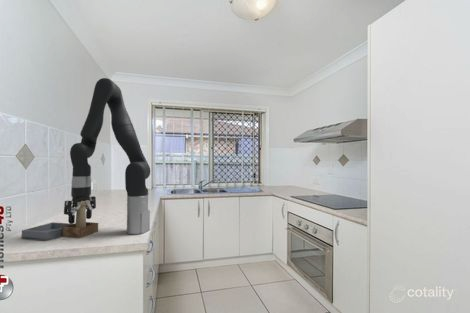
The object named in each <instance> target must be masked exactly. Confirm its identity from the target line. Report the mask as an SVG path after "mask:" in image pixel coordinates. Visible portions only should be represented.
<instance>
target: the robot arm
mask: <svg viewBox="0 0 470 313" xmlns="http://www.w3.org/2000/svg"><path fill="white" fill-rule="evenodd" d="M94 85H95V86H94V89H93V94H92V98H91V102H90V106H89V110H88V114H87V117H86V119H85V121H84V124H83V126H82V128H81V130H80V137H81V139H80V142H76V143H74V144H72V145H71V147H70V150H69V156H70V161H71V166H72V179H71V193H70V194H71V198H72V199H71V200H65V201H64V207H63V214H64V215H67V216H68V220H67V222H68V223H70V224H75V223H76V215H75V214H76V212H77V210H78V209H79V208H80V206H81V205H77V202H83V201H88V200H89V203H88V204H87V205H86V207H85V209H86V220H89V219H92V216H93V215H92V213H93V212H92V211H93V210H94V209H96V208H97V201H96V199H97V198H96V196H94V195H93V196H91V194H92V166H91V164H90V163H89V161H88V158H91V157H92V156H93V154H94V153H95V150H96V147H97V140H98V137H99V134H100V133H101V130H102V128H103V125H104V114H105V109H106V105H107V107H108V108H109V112H110V118H111V119H110V124H111V130H112V132H113V136H114V138H115V140H116V141H117V143H118V144H119V146H120V147H121V149H122V150H123V151H124V153H125V155H126V156H127V158H128V161H129V164H128V165H127V166H126V168H125V173H124V182H125V183H124V184H125V186H124V187H125V191H126V194H127V196H126V197H127V198H126V233H127V235H142V234H144V233H146V232H149V231H150V230H151V228H150V226H151V224H150V223H151V211H150V209H149V189H148V187H147V186H146V179H148V178H149V177H150V175H151V167H150V165H149V163H148V161H147V158H146V157H145V155H144V153H143V150H142V148H141V147H142V146H141V144H140V142H139V139H138V136H137V133H136V130H135V128H134V124H133V122H132V119H131V117H130V116H129V113H128V111H127V108H126V105H125V101H124V97H123V94H122V93H123V92H122V90H121V88H120V87H119V86H118V84H116V83H115V82H114V81H113V80H112V79H110V78H106V77H102V78H100V79H98V80H97V81H96V83H95V84H94ZM74 204H75V205H74Z"/></svg>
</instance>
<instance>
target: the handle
mask: <svg viewBox="0 0 470 313" xmlns="http://www.w3.org/2000/svg"><path fill="white" fill-rule="evenodd" d="M88 203H90V201H89V200H88V201H83V202H77V205H81V206H80V208H79V209H78V210H77V211H76V213H75V214H76V215H75V223H76V228H83V227H86V222H87V219H86V211H87V210H86V208H85V207H86V205H87V204H88ZM74 205H75V204H74Z"/></svg>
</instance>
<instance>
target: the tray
mask: <svg viewBox="0 0 470 313" xmlns="http://www.w3.org/2000/svg"><path fill="white" fill-rule="evenodd" d="M68 225H71V224H70V223H69V222H68V223H67V222H54V221H52V222H49V223H45V224H42V225H41V224H40V225H37V226H33V227H30V228H26V229H22V230H21V239H24V240H25V239H26V240H35V241H46V242H47V241H50V240H54V239H57V238H60V237H63V236H62V227H64V226H68Z"/></svg>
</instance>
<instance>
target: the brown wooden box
mask: <svg viewBox="0 0 470 313" xmlns="http://www.w3.org/2000/svg"><path fill="white" fill-rule="evenodd" d="M97 232H99V222H91V221H90V222H89V221H86V227H83V228H76V222H75V223H73V224H71V225H68V226H64V227H62V236H61V237H66V238H67V237H69V238H77V239H78V238H79V239H80V238H81V239H82V238H83V237H87V236H89V235H93V234H95V233H97Z"/></svg>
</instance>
